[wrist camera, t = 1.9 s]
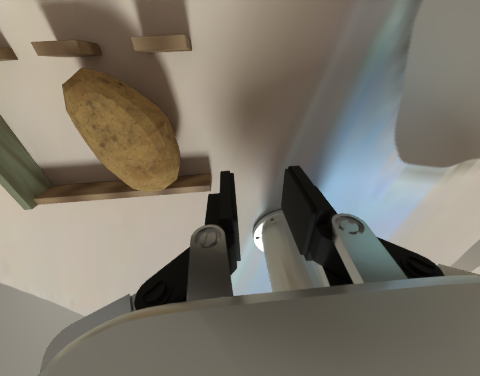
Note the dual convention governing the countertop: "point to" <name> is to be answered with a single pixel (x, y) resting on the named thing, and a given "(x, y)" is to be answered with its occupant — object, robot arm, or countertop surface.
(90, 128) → the potato
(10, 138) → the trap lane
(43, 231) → the countertop surface
